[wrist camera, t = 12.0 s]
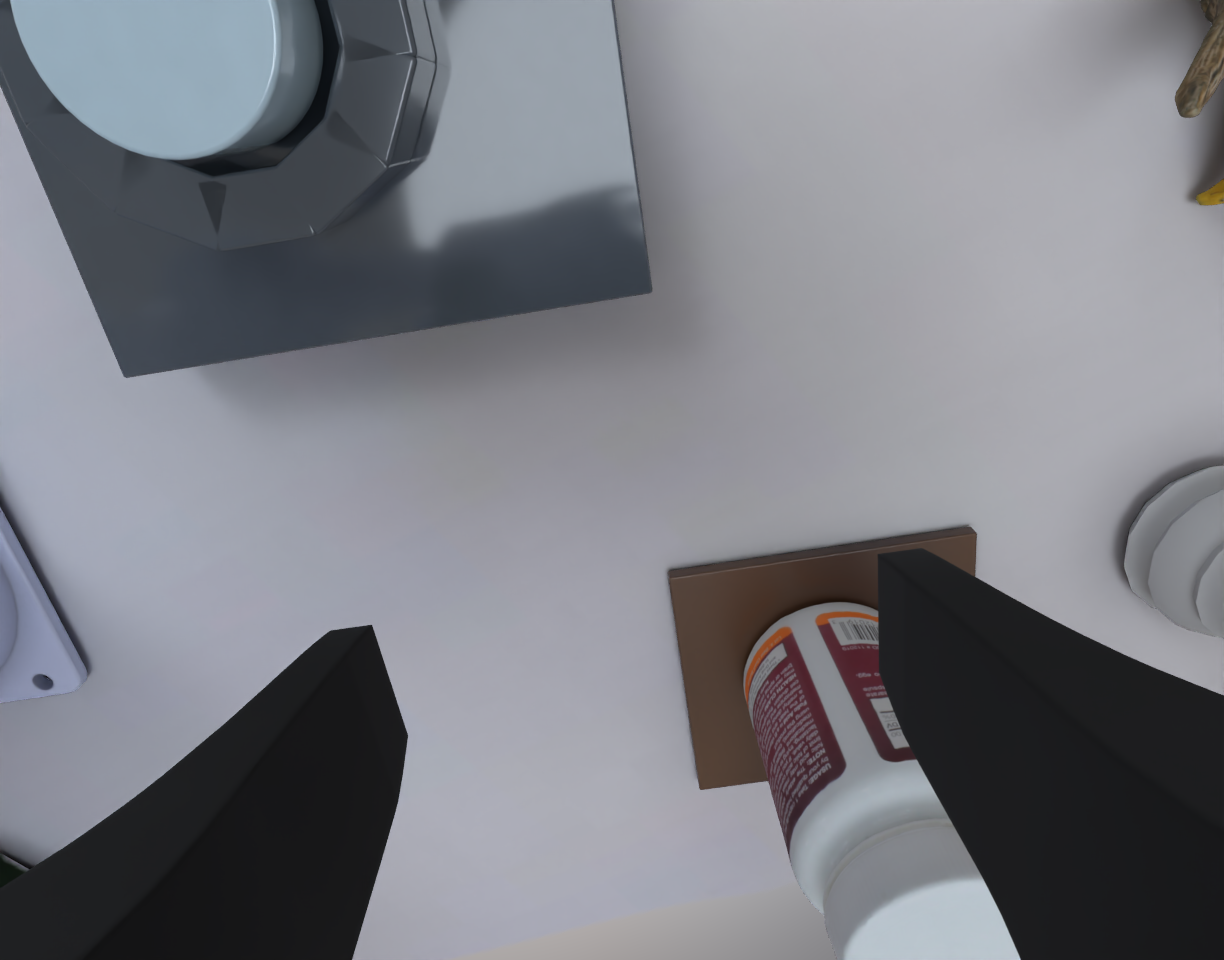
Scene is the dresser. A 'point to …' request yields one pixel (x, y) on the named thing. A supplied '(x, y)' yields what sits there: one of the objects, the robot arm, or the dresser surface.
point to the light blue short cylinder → (178, 69)
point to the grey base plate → (363, 189)
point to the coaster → (745, 609)
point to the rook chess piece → (1182, 552)
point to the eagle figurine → (1205, 81)
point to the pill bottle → (861, 798)
